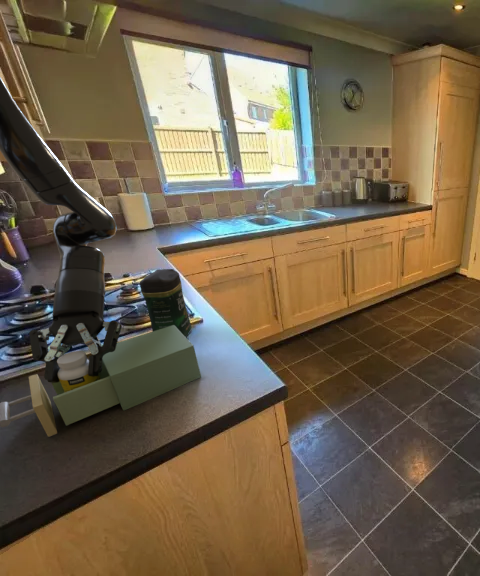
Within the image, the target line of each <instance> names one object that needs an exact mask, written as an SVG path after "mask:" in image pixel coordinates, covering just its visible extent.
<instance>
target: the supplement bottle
mask: <svg viewBox="0 0 480 576" xmlns="http://www.w3.org/2000/svg"><path fill="white" fill-rule="evenodd" d="M57 363H58V366H59V367H60V369H59V371H58V373H57V375H58V378H59V380H60V383H61V385H62V387H63V389H64V392H68V391H70V390H73V389H76V388H79V387H81V386H84V385H87V384H89V383H92V382H95V381H98V380H100V376H99V374H98V376H94V377H92V376H89V375H88V368H89V359H88V356H87V354H86V352H85V351H83V350H74V351H70V352H66V353H65V354H64V355H63V356H61V357H60V358H58V360H57Z"/></svg>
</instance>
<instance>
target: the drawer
mask: <svg viewBox="0 0 480 576" xmlns="http://www.w3.org/2000/svg"><path fill="white" fill-rule="evenodd" d="M99 376H100V380H98V381H95V382H92V383H89V384H87V385H84V386H81V387H79V388H76V389H73V390H70V391H68V392H64V389H63V387H62V385H61V383H60V381H59V382H57V383H51V385H52V388H53V389H54V391H55V394H56V395H55V396H54V395H53V396H52V400H53V402H54V404H55V407H56V408H57V410H58V413H59V414H60V416H61V419H62V421H63V423H64V424H65V426H69V425H71V424H73V423H76V422H78V421H81V420H83V419H86V418H88V417H90V416H92V415H96V414H97V413H100V412H103V411H104V410H105V411H106V410H107V409H109V408H112V407H114V406H116V405H120V401H119V398H118V396H117V393H116V390H115V388H114V385H113V383H112V380H111V377H110V375H109V373H108V371H107V369H106V367H105V365H104V363H103V362H102V371H101V372H100V373H99ZM28 383H29V389H30V390H29V391H30V394H29V395H25V396H23V397H20V398H18V399H15V400H12V401H1V402H0V428H5V427H8V426H9V425H11V422H14V421H17V420H20V419H22V418H25V417H27V416H30V415H32V414H35V415H36V417H37V418H38V420H39V422H40V424H41V427H42V428H43V430H44V432H45V434H46V436H47V437H49V438H50V437H52V436H55V435H57V434H58V430H57V429H58V428H57V425H56V420H55V416H54V411H53V405H52V401H51V399H50V396H49V395H48V393H47V391H46V389H45V387H44V385H43V383H42V381H41V378H40V376H39V375H38V373H36V374H32V375H29V376H28ZM30 400H31V404H32V408H31V409H29V410H25V411H22V412H20V413H18V414H15V415H12V416H11V408H10V407H13V406H15V405H18V404H21V403H24V402H27V401H30Z"/></svg>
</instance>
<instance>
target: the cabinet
mask: <svg viewBox="0 0 480 576" xmlns="http://www.w3.org/2000/svg"><path fill="white" fill-rule="evenodd" d="M197 358H198V357H197V353H196V349H195V346H194V344H193V343H192V342H191V341H190V340H189V339H188V338H187V336H186V337H185V336H184V335H183V334H182V333H181V332H180V331H179V330H178V329H177V327H176V326H175V325H172V326H169V327H166V328H163V329H159V330H156V331H150V332H147V333H144V334H141V335H137V336H134V337H131V338H128V339H125V340H121V341H119V342H117V345H116V349H115V351H114V352H109V353H107V354H105V355H104V356H103V363H104V365H105V367H106V369H107V371H108V373H109V375H110V377H111V380H112V383H113V385H114V388H115V390H116V393H117V396H118V398H119V401H120V403H119V405H120V406H121V409H122V411H126V410H129V409H131V408H134V407H136V406H138V405H140V404H142V403H145V402H147V401H150V400H152V399H155V398H156V397H159V396H161V395H163V394H165V393H168V392H171V391H172V390H175V389H177V388H179V387H182V386H185V385H187V384H188V383H191V382H193V381H196V380H198V379H200V378H202V375H201V370H200V367H199V362H198V359H197Z"/></svg>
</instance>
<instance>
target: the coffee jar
mask: <svg viewBox="0 0 480 576" xmlns="http://www.w3.org/2000/svg"><path fill="white" fill-rule="evenodd" d="M139 287H140V291H141V295H142V297H143V299H144V301H145V305H146V308H147V313H148V317H149V321H150V327H151V332H153V331H156V330H159V329H163V328H166V327H169V326H172V325H175V326H176V327H177V329H178V330H179V331H180V332H181V333H182V334H183V335H184V336H185V337H186V338H187V336H188V335H189V333H190V332H191V330H192V324H191V320H190V316H189V313H188V309H187V306H186V302H185V298H184V293H183V285H182V279H181V276H180V273H179V272H178V271H177V270H175V269H173V268H158V269H156V270H155V271H152V272H150V273H149V274H148V275H146V276H145V277H143V278H142V279H141V280H140V281H139Z"/></svg>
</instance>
